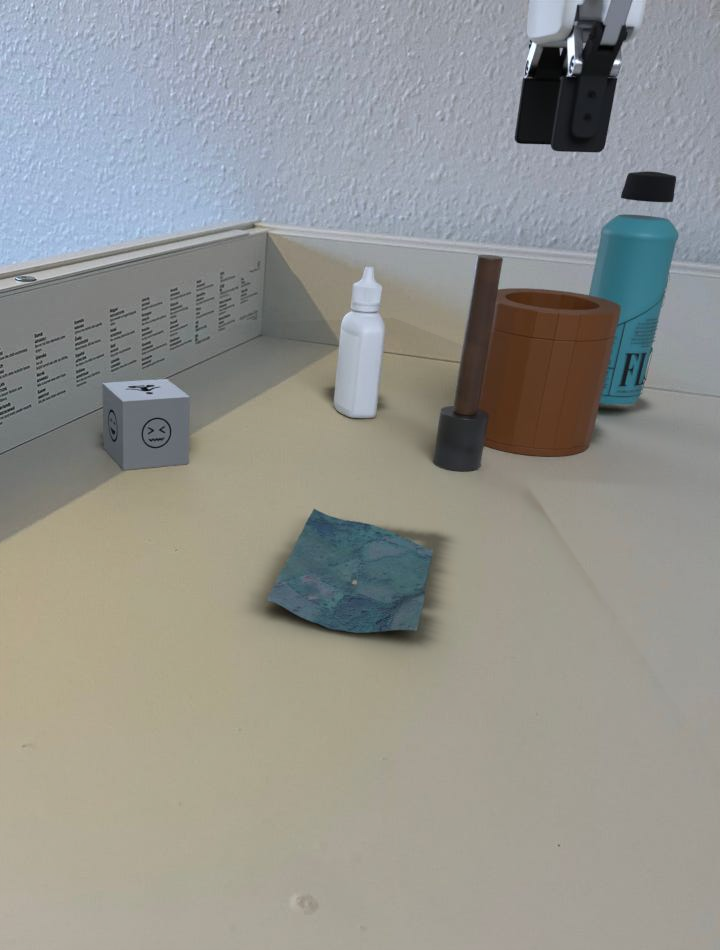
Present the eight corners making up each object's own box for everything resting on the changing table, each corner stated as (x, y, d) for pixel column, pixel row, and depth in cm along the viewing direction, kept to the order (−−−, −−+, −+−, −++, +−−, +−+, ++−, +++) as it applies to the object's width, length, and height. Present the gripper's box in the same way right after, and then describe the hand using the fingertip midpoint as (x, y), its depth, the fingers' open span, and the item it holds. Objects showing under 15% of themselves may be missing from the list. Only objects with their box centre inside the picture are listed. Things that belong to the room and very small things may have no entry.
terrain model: (310, 533, 62) (314, 505, 61) (434, 557, 60) (439, 529, 60) (262, 627, 51) (265, 595, 50) (411, 658, 50) (418, 626, 49)
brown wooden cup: (569, 421, 88) (597, 292, 82) (606, 459, 78) (640, 317, 73) (453, 415, 87) (473, 285, 82) (475, 453, 78) (500, 309, 73)
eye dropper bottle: (322, 415, 85) (335, 269, 80) (337, 399, 90) (350, 260, 84) (372, 422, 84) (389, 274, 78) (384, 406, 89) (401, 265, 83)
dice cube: (165, 443, 77) (166, 378, 74) (188, 464, 73) (189, 396, 70) (103, 448, 75) (102, 382, 73) (123, 470, 71) (122, 401, 69)
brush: (475, 457, 77) (509, 254, 70) (484, 472, 74) (521, 262, 67) (429, 454, 77) (459, 251, 70) (436, 470, 74) (469, 259, 67)
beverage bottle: (613, 426, 87) (672, 176, 77) (548, 407, 91) (596, 168, 81) (650, 414, 91) (711, 175, 81) (586, 397, 95) (637, 168, 85)
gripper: (738, -224, 49) (658, 157, 58) (625, -151, 64) (575, 143, 73) (588, -228, 49) (530, 153, 58) (510, -154, 64) (473, 140, 73)
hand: (555, 147), depth 65 cm, fingers open, 9 cm apart
